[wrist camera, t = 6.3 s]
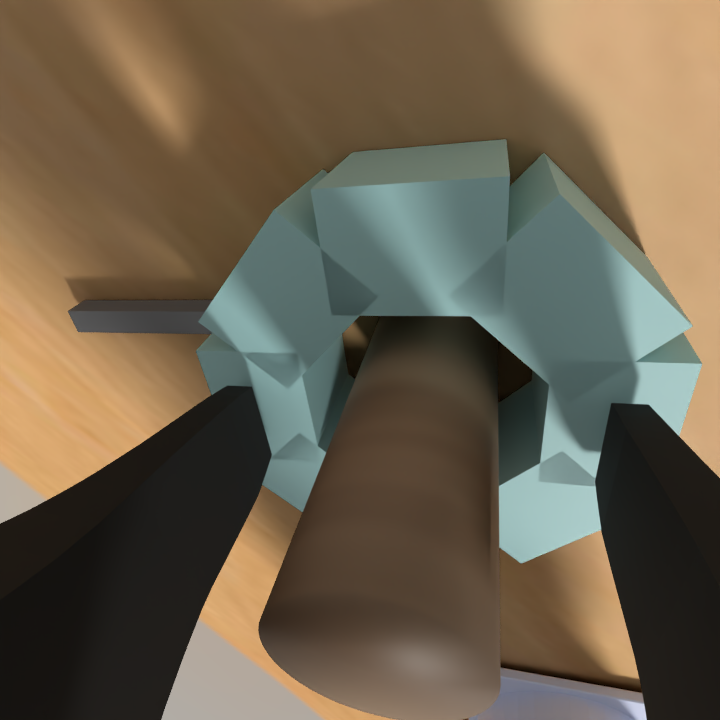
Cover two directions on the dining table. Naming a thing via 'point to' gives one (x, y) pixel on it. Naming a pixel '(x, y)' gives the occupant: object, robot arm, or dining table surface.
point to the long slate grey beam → (140, 316)
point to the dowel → (402, 534)
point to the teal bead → (455, 298)
